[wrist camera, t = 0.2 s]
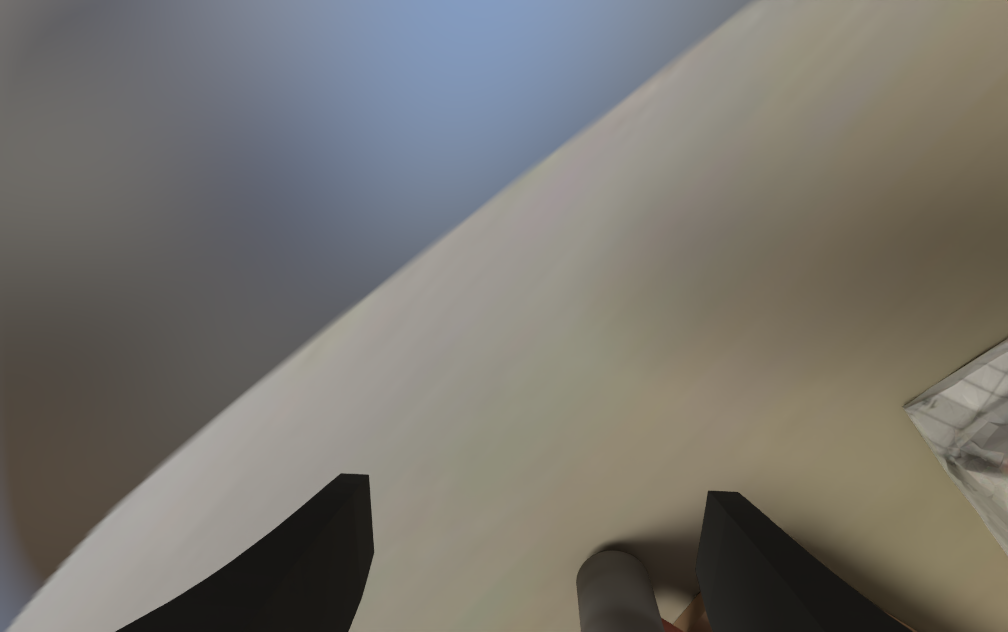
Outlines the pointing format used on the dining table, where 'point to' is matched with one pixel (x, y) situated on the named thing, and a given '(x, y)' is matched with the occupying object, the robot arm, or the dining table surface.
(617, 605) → the grey and red rod
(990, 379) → the packaged product
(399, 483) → the dining table surface
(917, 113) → the dining table surface
